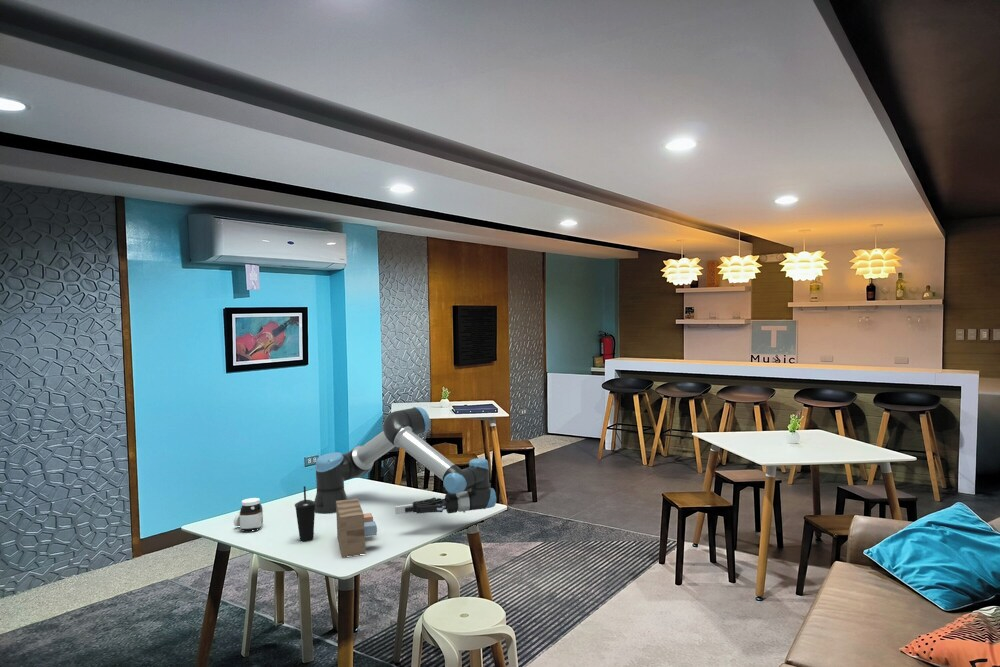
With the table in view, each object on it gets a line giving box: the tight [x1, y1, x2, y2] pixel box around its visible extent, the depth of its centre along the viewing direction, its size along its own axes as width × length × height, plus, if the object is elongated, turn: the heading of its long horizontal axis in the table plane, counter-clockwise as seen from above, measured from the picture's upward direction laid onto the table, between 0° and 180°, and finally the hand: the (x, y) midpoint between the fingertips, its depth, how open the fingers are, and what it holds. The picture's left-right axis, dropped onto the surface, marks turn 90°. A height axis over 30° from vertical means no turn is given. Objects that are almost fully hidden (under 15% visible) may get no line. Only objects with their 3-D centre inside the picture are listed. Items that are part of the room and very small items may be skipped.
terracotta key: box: [363, 512, 374, 523], centre depth 237 cm, size 5×6×4 cm
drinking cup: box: [294, 486, 316, 543], centre depth 239 cm, size 8×8×20 cm
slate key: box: [364, 520, 378, 538], centre depth 227 cm, size 5×6×4 cm
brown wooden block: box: [335, 498, 366, 558], centre depth 230 cm, size 22×8×14 cm, turn 18°
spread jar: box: [233, 497, 264, 532], centre depth 255 cm, size 12×11×12 cm
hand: (395, 510), depth 241 cm, fingers closed
